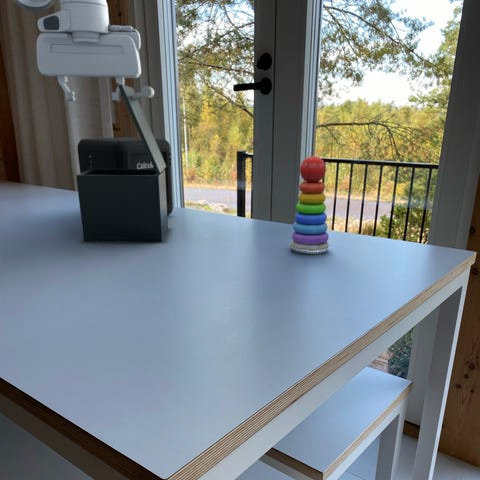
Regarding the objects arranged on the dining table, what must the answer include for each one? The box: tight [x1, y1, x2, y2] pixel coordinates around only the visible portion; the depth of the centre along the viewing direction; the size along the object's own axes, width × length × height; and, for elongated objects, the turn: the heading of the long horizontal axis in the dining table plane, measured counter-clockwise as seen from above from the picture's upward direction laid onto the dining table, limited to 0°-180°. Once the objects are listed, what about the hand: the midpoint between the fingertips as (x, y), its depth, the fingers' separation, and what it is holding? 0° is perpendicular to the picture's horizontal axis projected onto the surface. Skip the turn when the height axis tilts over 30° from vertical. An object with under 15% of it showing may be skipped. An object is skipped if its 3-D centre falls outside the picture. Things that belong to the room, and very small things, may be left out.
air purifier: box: [76, 136, 174, 217], centre depth 124 cm, size 20×15×20 cm
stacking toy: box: [290, 155, 330, 255], centre depth 96 cm, size 8×8×19 cm
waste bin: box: [75, 168, 169, 243], centre depth 108 cm, size 17×14×14 cm
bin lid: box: [117, 84, 166, 174], centre depth 101 cm, size 18×14×5 cm
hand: (93, 101), depth 99 cm, fingers open, 8 cm apart
